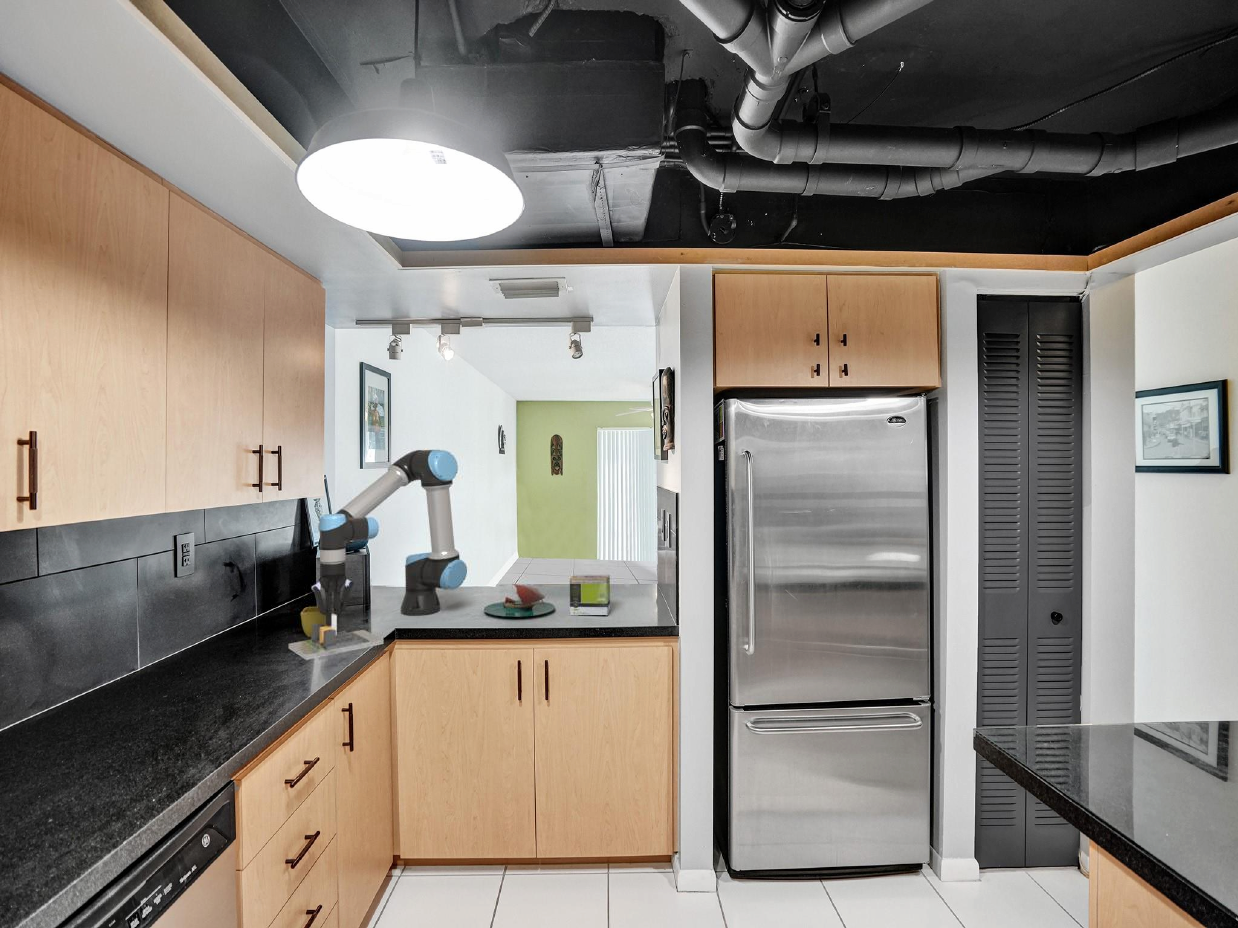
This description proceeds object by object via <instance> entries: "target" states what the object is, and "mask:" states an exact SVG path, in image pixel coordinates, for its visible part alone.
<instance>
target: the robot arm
mask: <svg viewBox="0 0 1238 928" xmlns="http://www.w3.org/2000/svg"><path fill="white" fill-rule="evenodd" d="M458 470H459V465H458V462H457V458H456V457H455V456H454V455H453V454H452V453H451V452H449V451H447V450H444V449H443V450H442V449H417V450H413V451H411V452H408V453H406V454H405V455H403V456H401V457H400V458H399V459H397V460H396V461H394V462H393V463H392V464H391V465H389V466H388V468H387V471H386V472H385V473H384V474H383V475H381V476H380V477H379V478H378V479H377V480H375V481H373V483H372V484H370V485H369V486H368V487H367V488H365V489H363V491H361V492H360V493H359V494H358V495H357V496H355V497H354V498H353V499H351V501H349V502H348V503H347V504H346V505H344V506H343V507H342V508H341V509H340V510H338V511H336V513H328V514H327V513H326V514H323V515H321V517H320V520H319V522H318V526H317V527H318V531H319V561H320V562H321V563H320V564H319V578H318V582H317V583H316V584H314V585H311V587H310V589H311V590H312V591H313V592H314V596H315V600H316V604H317V607H318V608H319V612H320V613H321V614H323V615H326V625H327V626H331V627H332V629H334V630H336V635H337V632H338V631H337V630H338V627H337V625H339V624H340V619H341V618H340V615H341V614H342V613H344V612H346V609H347V606H348V603H349V602H348V601H349V598H350V593H351V589H352V587H353V586H354V584H355V583H354V581H352V580H349V579H348V578H347V576H346V562H345V561H346V543H349V542H357V541H368V540H372V539H374V538H376V537H377V536H378V534H379V528H380V526H379V523H378V520H377V519H376V518H374V517H367V516H368V515H369V514H371V512H373V511H374V510H375V509H376V508H377V507H379V506H380V505H381V504H382V503H383V502H384V501H386V500H387V499H388V498H389V497H391V496H392V495H393V494H394V493H395V492H397V491H398V490H399V489H401V488H402V487H406V486H408V485H409V484H410V483H413V482H415V481H420V485H421V486H420V487H421V488H422V489H423V490H424V491H425V494H426V505H427V515H428V525H429V536H430V544H431V545H430V546H431V552H423V553H415V554H410V555H408V556H406V558H405V564H404V567H405V570H404V575H405V577H404V578H405V580H404V581H405V592H404V593H405V594H404V596H403V600H402V603H401V605H400V614H402V615H406V616H426V615H432V614H436V613H438V612H440V611H441V602H440V600H439V597H438V593H437V589H441V590H444V591H445V590H451V591H453V590H456V589H458V588H459V587H461V586H462V585H463V583H464V581H465V580H466V577H467V575H468V573H467V572H468V567H467V564H466V563H465V561H463V560H462V559H460V552H459V550H457V549H456V548H455V546H456V545H455V537H454V527H453V516H452V505H451V495H450V493H451V492H450V487H452V485H453V483H454V482H453V480H454V479H455V478H456V477H457V474H458ZM343 586H344V588H343ZM321 588H322V589H323V590H324V594H325V595H324V596H325V597H324V598H325V599H324V598H323V596H322V593H321ZM342 588H343V592H341V591H342ZM341 593H342V595H341ZM323 599H324V600H325V602H324V600H323Z"/></svg>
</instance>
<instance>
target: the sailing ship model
mask: <svg viewBox="0 0 1238 928" xmlns="http://www.w3.org/2000/svg"><path fill="white" fill-rule="evenodd" d="M513 585H514V587H515V588H516V594H517V597H519V599H512V598H511V597H507V596H505V600H504V601H500V602H495V603H491V604H488V605H486V606H485V607H484V608H483V611H484V612H485V613H487V614H490V615H493V616H500V617H530V616H531V617H532V616H540V615H543V614H548V613H549V612H552V611H553V610H555V607H556V606H555V605H554V604H553V603H550V602H548V601H547V602H546V601H544V599H545V598H546V596H545V595H544V594H543V593H541V592H540V591H539V589H538V588H535V587H531V586H527V585H522V584H515V583H513ZM511 589H512V591H513V587H512V588H511Z"/></svg>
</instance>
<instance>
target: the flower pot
mask: <svg viewBox="0 0 1238 928" xmlns="http://www.w3.org/2000/svg"><path fill="white" fill-rule="evenodd" d="M300 620H301V626H302V629H303V632H304V634H305V635H306V636H307V637H309V638H311V637H312V625H314V624H320V623H323V624H324V627H325V626H327V625H326V615H323V614H321V613H320V612H319V608H318V606H308V607H305V608H303V610H302V611H301V612H300Z"/></svg>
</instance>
